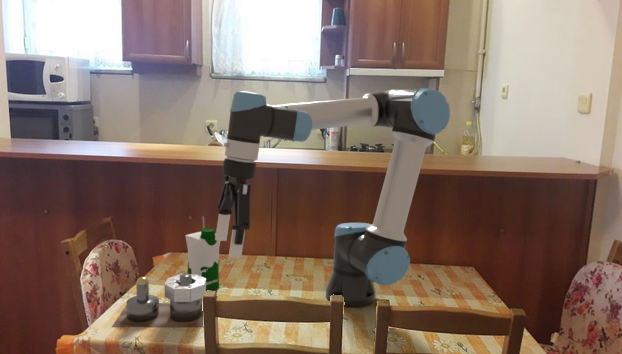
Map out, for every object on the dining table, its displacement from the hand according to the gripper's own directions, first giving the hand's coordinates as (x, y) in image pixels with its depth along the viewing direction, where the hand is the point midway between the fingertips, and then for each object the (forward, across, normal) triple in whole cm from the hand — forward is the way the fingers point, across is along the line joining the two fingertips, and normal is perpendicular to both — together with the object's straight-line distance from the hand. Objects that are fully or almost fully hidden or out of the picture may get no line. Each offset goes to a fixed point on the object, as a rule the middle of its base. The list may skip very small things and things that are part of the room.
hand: (227, 248), depth 113 cm
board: (+25, -17, -8) cm, 32 cm away
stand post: (+23, -15, -4) cm, 28 cm away
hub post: (+24, -19, -14) cm, 34 cm away
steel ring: (+17, -15, -5) cm, 23 cm away
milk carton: (+24, -33, +4) cm, 40 cm away
